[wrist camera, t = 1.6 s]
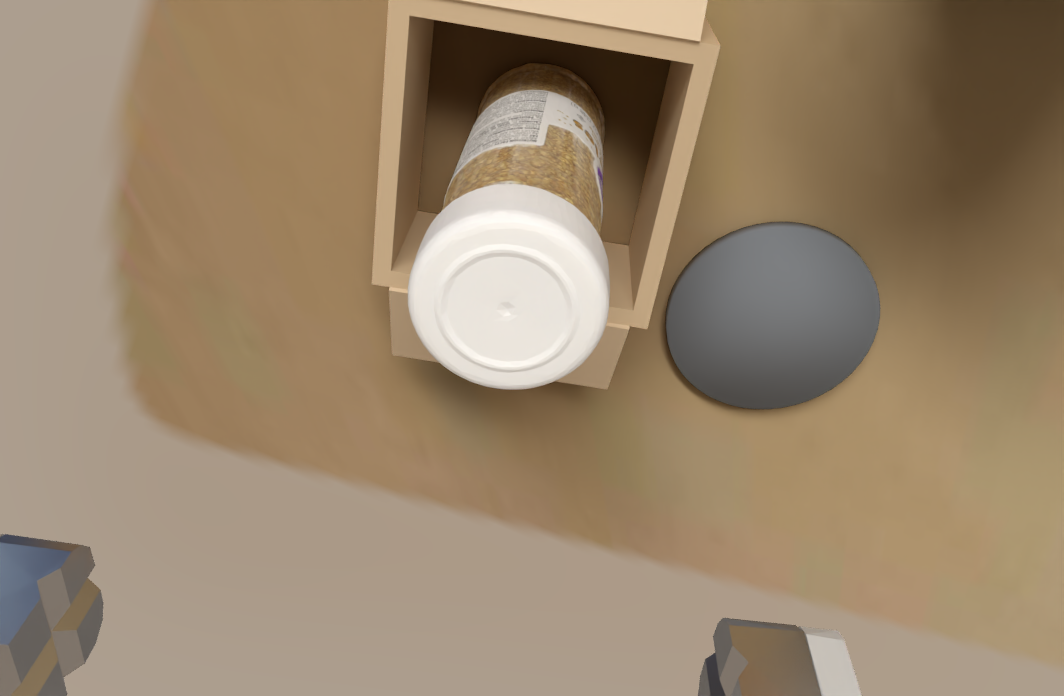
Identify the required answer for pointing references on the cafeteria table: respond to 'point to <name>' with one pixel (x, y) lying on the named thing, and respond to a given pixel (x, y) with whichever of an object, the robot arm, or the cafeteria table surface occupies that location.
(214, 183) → the cafeteria table surface
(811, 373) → the coaster
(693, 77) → the carton
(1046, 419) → the cafeteria table surface
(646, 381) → the cafeteria table surface
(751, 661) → the robot arm
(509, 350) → the sprinkles bottle
